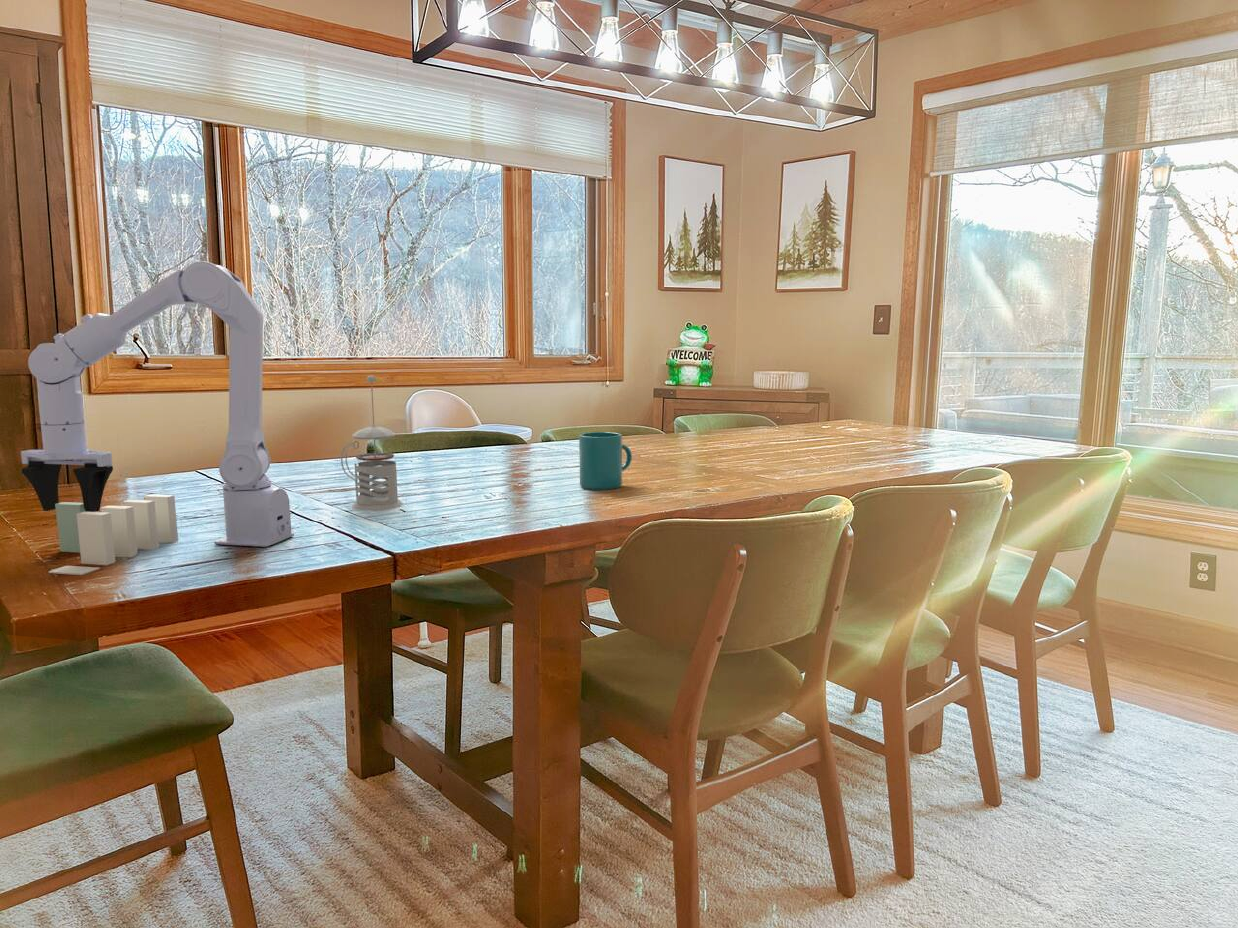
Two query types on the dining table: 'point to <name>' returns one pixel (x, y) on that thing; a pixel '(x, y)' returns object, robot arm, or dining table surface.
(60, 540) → the domino
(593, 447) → the cup
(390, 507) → the french press
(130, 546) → the domino
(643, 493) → the dining table surface
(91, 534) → the domino
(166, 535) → the domino
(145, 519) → the domino
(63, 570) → the pad
